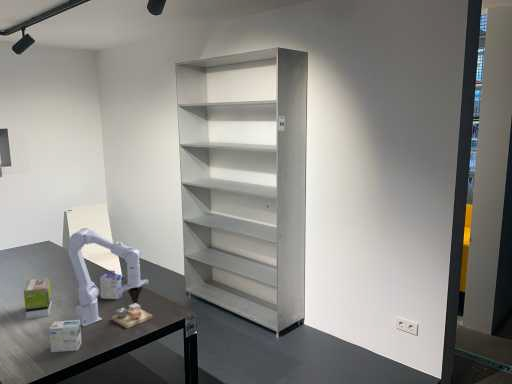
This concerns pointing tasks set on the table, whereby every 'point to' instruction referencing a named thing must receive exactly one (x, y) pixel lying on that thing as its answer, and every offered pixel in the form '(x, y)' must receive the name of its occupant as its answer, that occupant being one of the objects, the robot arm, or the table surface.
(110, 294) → the ink cartridge box
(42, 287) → the tea box
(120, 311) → the tile three
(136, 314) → the tile one
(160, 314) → the table surface
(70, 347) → the light bulb box
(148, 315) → the button board
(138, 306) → the tile two
